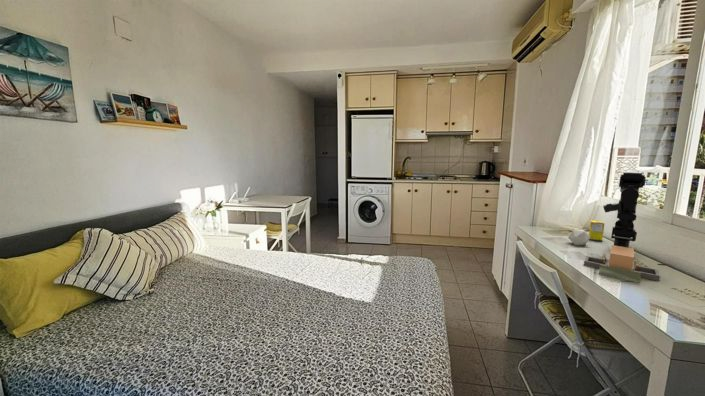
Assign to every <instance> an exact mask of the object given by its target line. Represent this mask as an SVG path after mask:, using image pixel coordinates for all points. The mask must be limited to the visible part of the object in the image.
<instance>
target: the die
mask: <svg viewBox="0 0 705 396" xmlns="http://www.w3.org/2000/svg"><path fill="white" fill-rule="evenodd" d="M567 239H569V240H570V242H572V243H573V244H574V245H575V246H586V244H588V242H589V241H590V240H589V239H590V236H589V233H587V232H586V231H585V230H583V229H572V231H571V232H570V234H569V235H568V237H567Z"/></svg>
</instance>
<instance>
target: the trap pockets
mask: <svg viewBox="0 0 705 396" xmlns="http://www.w3.org/2000/svg"><path fill="white" fill-rule="evenodd" d="M601 262H602V258H600V257H594V256H588V255H586V257H585V258H584V261H583V266H585V267H590V268H595V269H598V270H599V269H600V264H602V263H601ZM638 272H641V279H642V278H643V279H647V280H653V281H657V282H659V281H660V279H661V278H660V277H661V275H660V271H659V269H657V268H652V267H648V266H646V267H645V266H641V265H639V271H638Z"/></svg>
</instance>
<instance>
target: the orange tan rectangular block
mask: <svg viewBox="0 0 705 396" xmlns="http://www.w3.org/2000/svg"><path fill="white" fill-rule="evenodd" d="M634 250H635V249H634V248H633V247H629V248H627V247H621V246H615V245H614V244H611V247H610V252H609V261H608V266H613V267H618V268H623V269H628V270H633V268H634V267H633V266H634V263H635V251H634Z"/></svg>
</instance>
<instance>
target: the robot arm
mask: <svg viewBox="0 0 705 396" xmlns="http://www.w3.org/2000/svg"><path fill="white" fill-rule="evenodd" d="M646 177H647V176H645V174H643V172H642V171H640V170H638V169H627V170H625V171H623V172H622V173H620V177H619V182H618V187H619V191H620V197H619V200H618V202H614V203H606V204H604V205H602V207H603V210H604V212H605V213H611V212H616V211H617V215H616V219H617V220H616V222H614V226H612V230H611V237H610V239H614V240H613V241H614V242H613V245H615V246H621V247H627V248H630V244H631V243H630V242H636V239H637V234H638V232H637V231H636V229H634V228H635V224H634V222H635V221H637V214H636V212H637V206H638V200H639V199H638V198H639V197H640V189H641V188H642V189H643V188H644V187H645V186H646V181H647V180H646Z"/></svg>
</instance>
